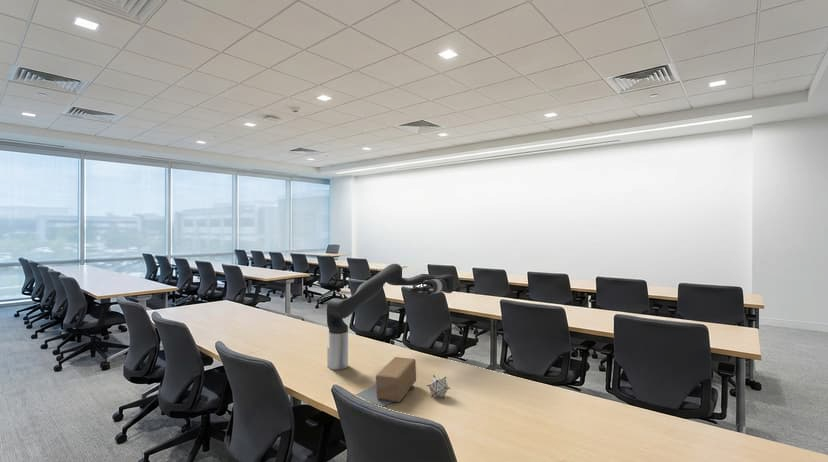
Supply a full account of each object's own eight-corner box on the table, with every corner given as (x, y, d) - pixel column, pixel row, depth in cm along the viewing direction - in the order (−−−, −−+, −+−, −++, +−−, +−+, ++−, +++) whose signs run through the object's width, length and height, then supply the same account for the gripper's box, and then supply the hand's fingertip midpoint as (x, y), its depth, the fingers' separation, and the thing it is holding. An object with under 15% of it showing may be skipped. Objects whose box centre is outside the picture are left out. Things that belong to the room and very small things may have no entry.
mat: (352, 396, 154) (352, 393, 154) (384, 381, 170) (384, 377, 170) (383, 407, 145) (383, 403, 145) (414, 389, 161) (414, 386, 161)
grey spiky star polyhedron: (442, 404, 155) (457, 383, 156) (437, 405, 148) (452, 383, 149) (425, 389, 159) (439, 369, 160) (419, 389, 152) (434, 368, 153)
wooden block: (417, 380, 165) (399, 403, 147) (395, 378, 169) (375, 400, 150) (416, 358, 165) (398, 377, 146) (394, 355, 168) (374, 375, 150)
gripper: (421, 278, 205) (401, 281, 191) (442, 280, 197) (423, 283, 183) (421, 292, 205) (401, 296, 191) (442, 295, 197) (423, 299, 183)
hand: (412, 290), depth 187 cm, fingers closed
